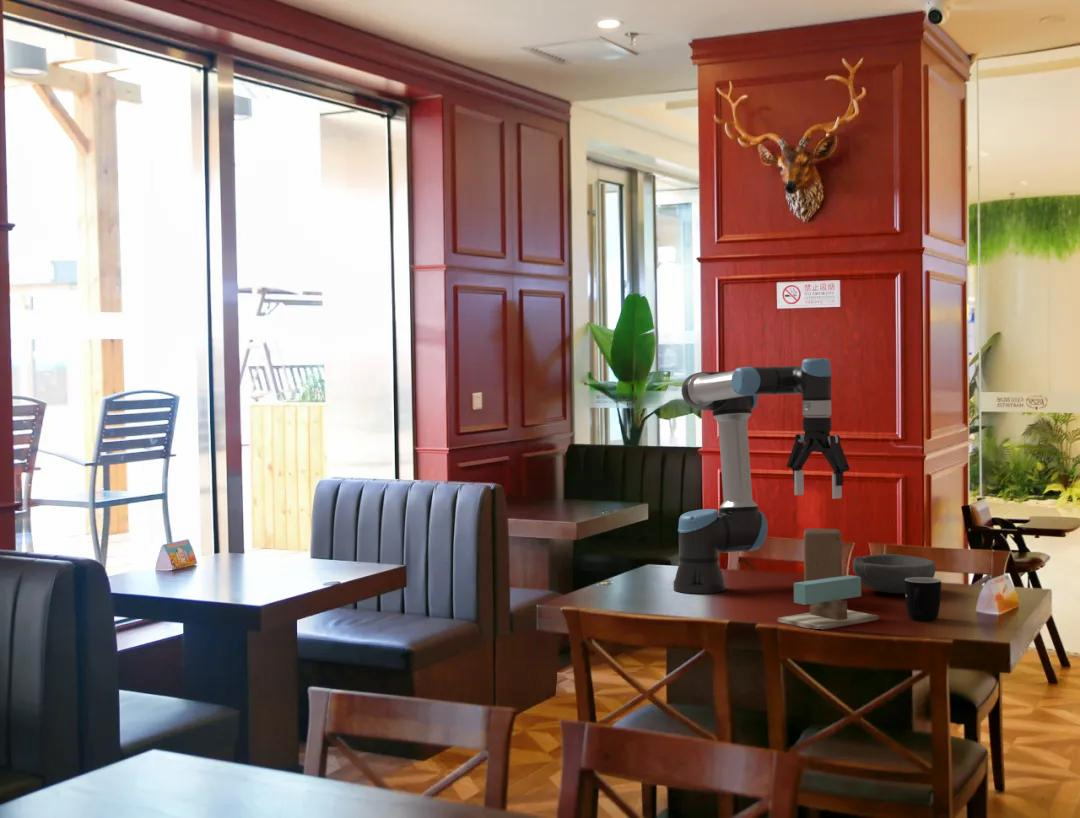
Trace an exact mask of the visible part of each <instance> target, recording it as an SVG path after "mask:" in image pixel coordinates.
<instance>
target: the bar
mask: <svg viewBox="0 0 1080 818" xmlns="http://www.w3.org/2000/svg"><path fill="white" fill-rule="evenodd" d="M858 597H862V583H861V577H858V576H856V575H851V574H850V575H847V574H846V575H842V576H840V577H833V578H826V579H818V580H811V581H798V582H793V603H795V604H798V605H805V606H807V605H808V604H814V603H821V602H827V601H834V600H840V599H842V600H845V599H852V598H858ZM808 606H809V605H808Z"/></svg>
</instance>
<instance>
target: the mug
mask: <svg viewBox="0 0 1080 818" xmlns="http://www.w3.org/2000/svg"><path fill="white" fill-rule="evenodd" d="M904 595H905V605H906V610H907V614H908V616H909V618H910V620H912V621H917V622H933V621H936V620H937V618H938V617H939V613H940V608H941V607H940V606H941V600H942V599H941V598H942V597H941V596H942V580H941V579H939V578H935V577H933V578H928V577H911V578H906V579H905V594H904Z"/></svg>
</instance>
